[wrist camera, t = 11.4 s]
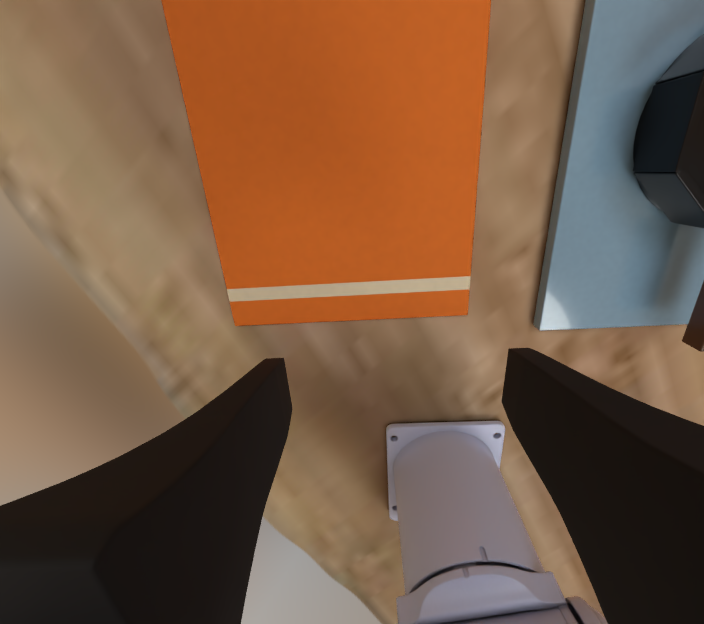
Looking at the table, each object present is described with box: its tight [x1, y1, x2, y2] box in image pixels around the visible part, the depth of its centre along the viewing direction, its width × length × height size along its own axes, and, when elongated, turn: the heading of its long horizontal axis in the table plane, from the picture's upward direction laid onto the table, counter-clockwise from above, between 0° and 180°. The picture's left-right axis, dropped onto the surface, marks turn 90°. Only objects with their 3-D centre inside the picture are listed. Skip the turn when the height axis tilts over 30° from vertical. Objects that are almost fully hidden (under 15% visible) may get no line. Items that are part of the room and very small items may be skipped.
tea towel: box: [162, 0, 491, 326], centre depth 16 cm, size 20×14×1 cm
